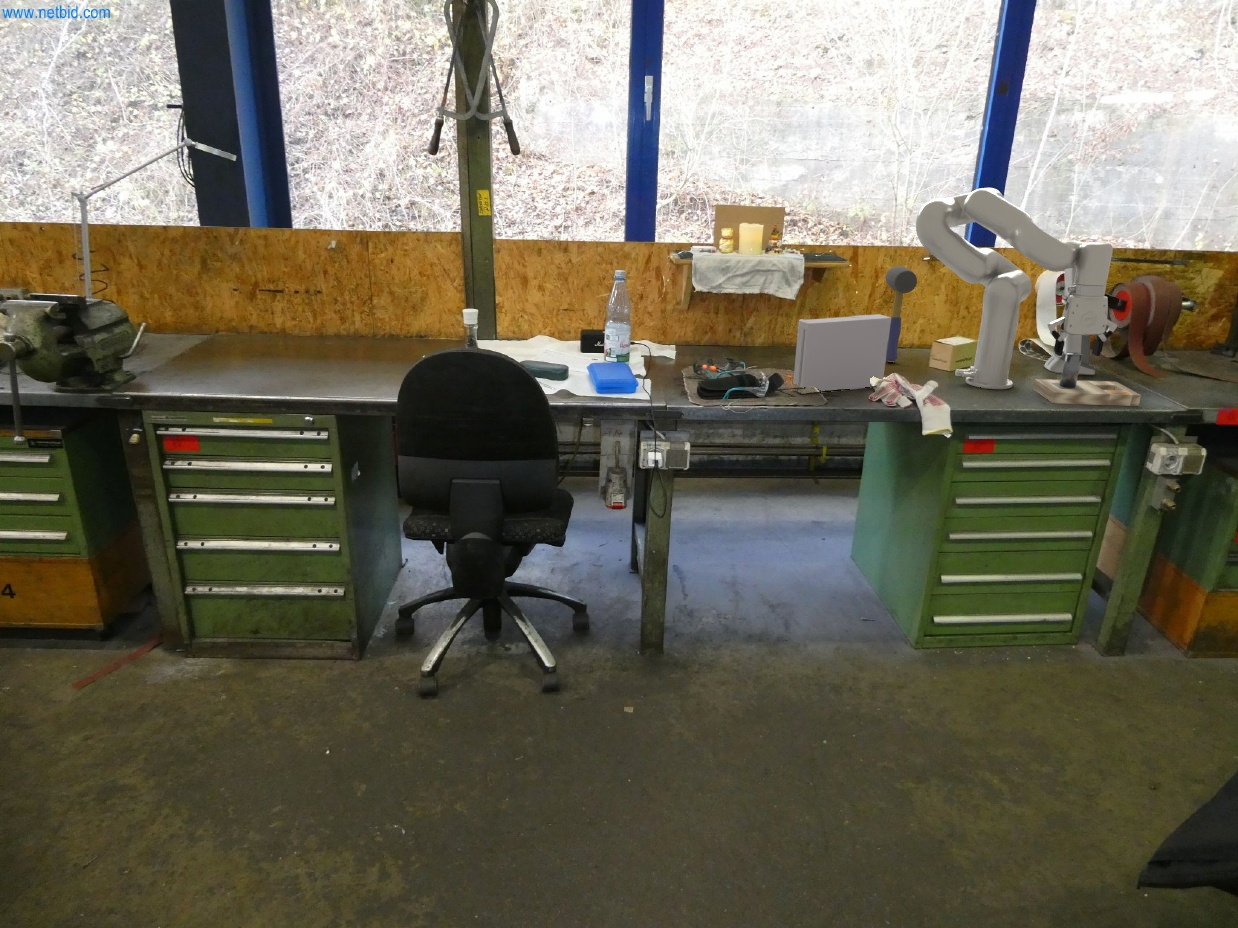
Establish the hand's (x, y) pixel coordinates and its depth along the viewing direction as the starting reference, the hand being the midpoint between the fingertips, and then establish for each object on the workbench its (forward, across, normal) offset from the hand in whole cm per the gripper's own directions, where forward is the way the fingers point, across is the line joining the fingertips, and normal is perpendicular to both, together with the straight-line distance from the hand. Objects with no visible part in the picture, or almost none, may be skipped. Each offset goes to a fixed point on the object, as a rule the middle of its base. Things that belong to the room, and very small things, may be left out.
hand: (1076, 355), depth 218 cm
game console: (+11, -63, +2) cm, 64 cm away
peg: (+9, -1, 0) cm, 9 cm away
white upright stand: (+12, +13, +33) cm, 37 cm away
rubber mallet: (+11, -41, +36) cm, 55 cm away
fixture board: (+12, +4, +1) cm, 13 cm away
